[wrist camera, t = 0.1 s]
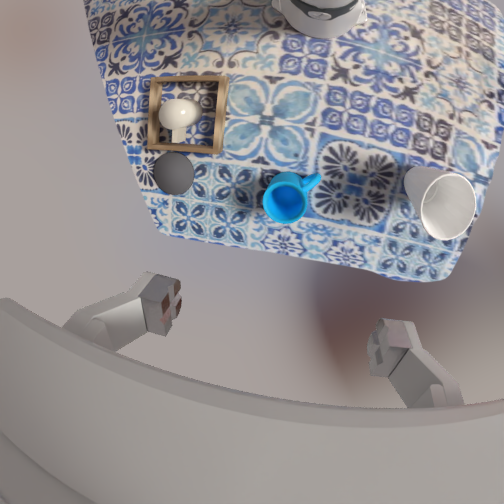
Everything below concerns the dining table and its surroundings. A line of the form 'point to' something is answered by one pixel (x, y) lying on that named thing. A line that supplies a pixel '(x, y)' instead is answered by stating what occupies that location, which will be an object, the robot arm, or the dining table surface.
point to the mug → (288, 196)
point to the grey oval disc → (174, 173)
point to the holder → (156, 105)
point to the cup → (441, 201)
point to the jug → (180, 116)
